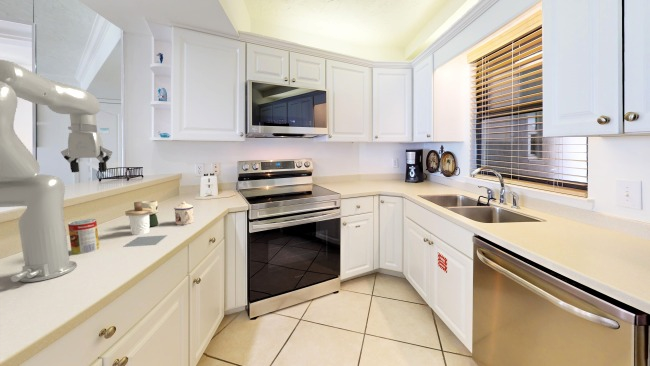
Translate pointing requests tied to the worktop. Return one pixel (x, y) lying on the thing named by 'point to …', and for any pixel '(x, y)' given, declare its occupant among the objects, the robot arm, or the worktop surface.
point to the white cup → (139, 224)
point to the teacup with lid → (184, 214)
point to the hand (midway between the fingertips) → (89, 172)
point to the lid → (138, 210)
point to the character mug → (152, 215)
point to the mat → (145, 241)
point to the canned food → (83, 236)
